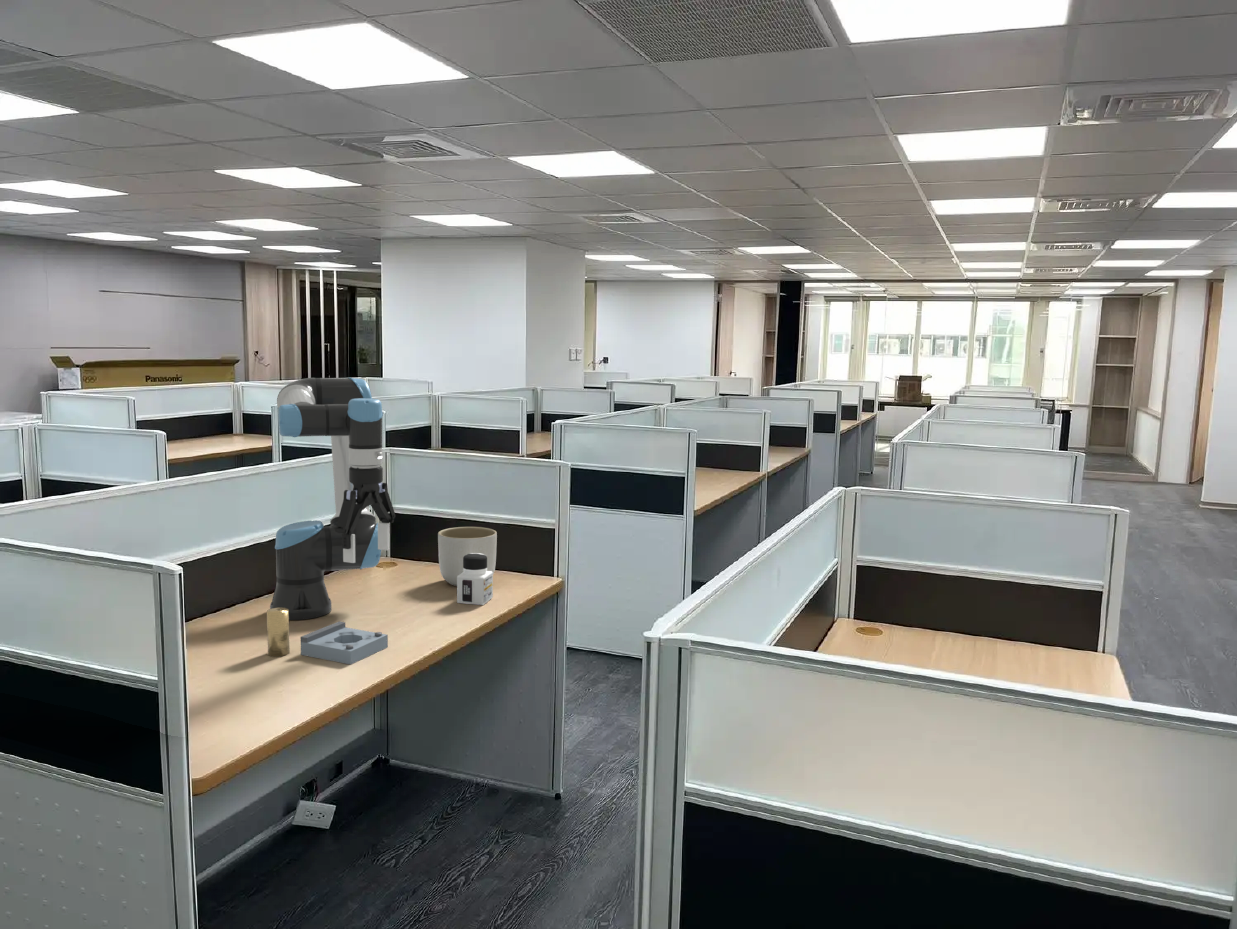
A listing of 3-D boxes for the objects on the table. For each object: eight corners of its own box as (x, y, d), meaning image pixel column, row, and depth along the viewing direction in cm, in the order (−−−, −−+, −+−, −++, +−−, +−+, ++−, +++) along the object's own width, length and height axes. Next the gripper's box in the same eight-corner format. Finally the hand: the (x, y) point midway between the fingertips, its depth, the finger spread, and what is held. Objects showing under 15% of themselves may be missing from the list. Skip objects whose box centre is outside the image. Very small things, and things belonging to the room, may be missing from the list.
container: (483, 605, 250) (483, 558, 248) (456, 603, 251) (456, 556, 250) (493, 598, 257) (493, 552, 256) (466, 595, 259) (466, 550, 257)
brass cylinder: (263, 655, 207) (262, 611, 206) (278, 649, 212) (277, 606, 210) (279, 658, 206) (278, 614, 204) (294, 652, 210) (293, 609, 208)
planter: (508, 581, 276) (508, 531, 274) (471, 593, 261) (471, 541, 259) (463, 573, 284) (463, 524, 282) (426, 584, 270) (425, 533, 268)
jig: (300, 654, 208) (300, 636, 207) (339, 638, 220) (339, 621, 219) (350, 664, 203) (350, 646, 202) (387, 647, 214) (387, 629, 214)
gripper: (346, 474, 200) (348, 569, 203) (409, 460, 223) (410, 546, 226) (317, 471, 202) (319, 566, 205) (382, 458, 226) (383, 543, 229)
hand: (367, 555), depth 216 cm, fingers open, 13 cm apart
